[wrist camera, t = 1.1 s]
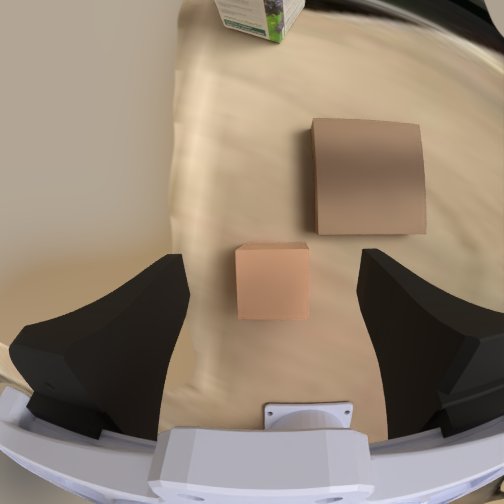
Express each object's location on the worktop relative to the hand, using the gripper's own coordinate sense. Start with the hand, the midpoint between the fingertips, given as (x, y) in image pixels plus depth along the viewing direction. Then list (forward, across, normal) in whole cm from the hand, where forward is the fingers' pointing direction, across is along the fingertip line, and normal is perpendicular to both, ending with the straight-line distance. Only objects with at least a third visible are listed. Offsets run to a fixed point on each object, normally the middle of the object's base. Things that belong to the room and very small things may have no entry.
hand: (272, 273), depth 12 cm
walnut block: (+12, -7, 0) cm, 14 cm away
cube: (+9, 0, +6) cm, 11 cm away
